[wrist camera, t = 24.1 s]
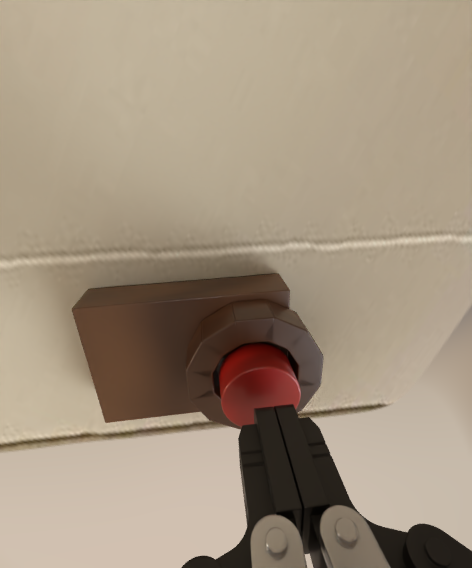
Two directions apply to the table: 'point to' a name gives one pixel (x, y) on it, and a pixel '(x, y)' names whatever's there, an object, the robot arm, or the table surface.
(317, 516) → the robot arm
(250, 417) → the button
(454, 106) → the table surface
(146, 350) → the button block
